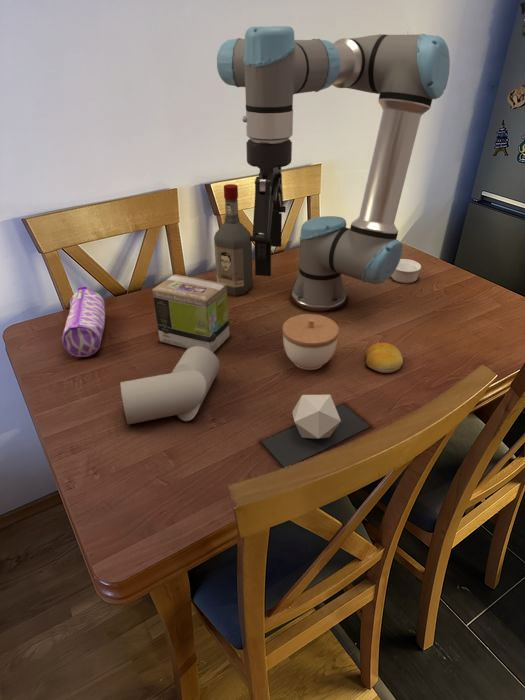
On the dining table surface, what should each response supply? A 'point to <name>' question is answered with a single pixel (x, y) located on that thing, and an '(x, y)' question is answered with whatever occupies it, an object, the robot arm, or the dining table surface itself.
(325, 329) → the cork-lidded white jar
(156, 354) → the dining table surface
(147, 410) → the bent grey cylinder
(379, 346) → the bread roll
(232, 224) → the liquor
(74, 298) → the pencil case
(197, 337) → the tea box
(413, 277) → the ramekin
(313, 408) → the die
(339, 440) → the edge mat
